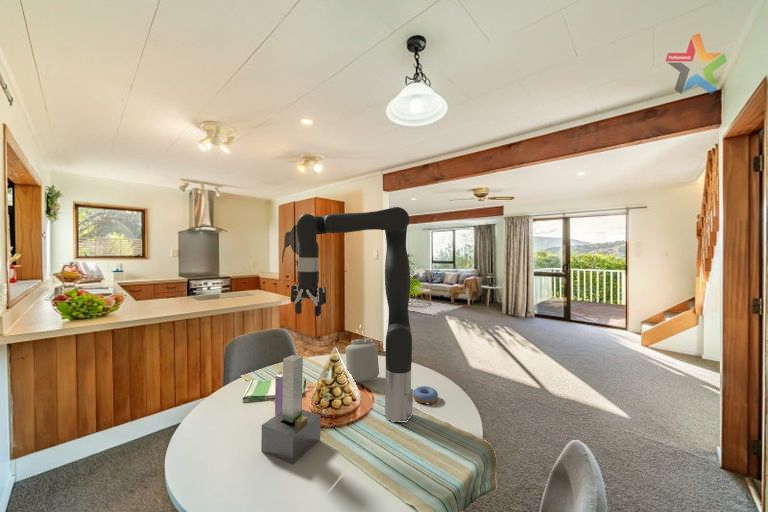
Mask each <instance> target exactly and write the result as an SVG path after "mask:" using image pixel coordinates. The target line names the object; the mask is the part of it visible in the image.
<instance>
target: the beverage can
mask: <svg viewBox="0 0 768 512" xmlns="http://www.w3.org/2000/svg"><path fill="white" fill-rule="evenodd" d="M274 380H275V399H274V417H275V416H277V415H278V414H280V413H281V412H282V402H283V370H281V371H278V372H276V374H275V379H274Z"/></svg>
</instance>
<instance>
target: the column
mask: <svg viewBox="0 0 768 512" xmlns="http://www.w3.org/2000/svg"><path fill="white" fill-rule="evenodd" d="M303 359H304V357H303V356H299V355H295V354H292V355H289V356H287V357H284V358H283V359H282V371H283V402H282V419H283V420H286V421H289V422H292V423H293V422H294V421H295V420H297V419H298V418H299V417H301V416H302V410H303V396H302V377H303V374H304V373H303V367H304V366H303V365H304V364H303V363H304V362H303V361H304V360H303Z"/></svg>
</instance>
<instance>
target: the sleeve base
mask: <svg viewBox="0 0 768 512" xmlns="http://www.w3.org/2000/svg"><path fill="white" fill-rule="evenodd" d="M321 417H322V416H321V414H317V413H314V412H311V411H308V410H304V409H302V416H301V417H299V418H298V419H297V420H295V421H294V422H293V423H292V422H289V421H286V420H283V419H282V412H281V413H280V414H278V415H277V416H275V415H274V416H273V417H272V418H271V419H268V420H267V421H266V422H264V423H262V424H261V444H260V445H261V447H260V449H261V450H260V451H261V452H262V453H264V454H266V455H268V456H271V457H274V458H277V459H279V460H280V461H283V462H285V463H289V464H290V465H292V466H293V465H294V464H295V463H296V462H298V461H299V460H300V459H301V458H302V457H304V455H306V453H308V452H309V451H310V450H312V449H313V448H314V447H315V445H316V444H318V443H319V442H321V421H322V420H321Z"/></svg>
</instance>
